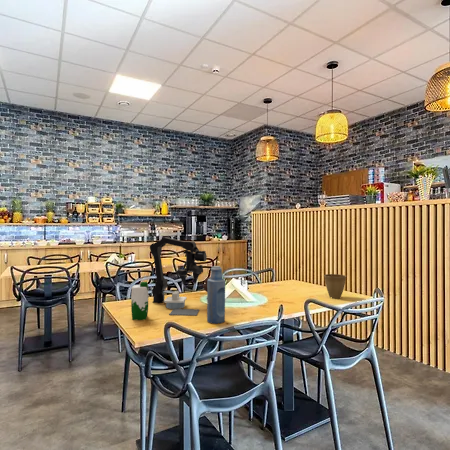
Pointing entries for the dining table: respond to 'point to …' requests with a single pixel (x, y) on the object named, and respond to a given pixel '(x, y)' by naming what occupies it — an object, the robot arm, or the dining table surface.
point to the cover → (175, 298)
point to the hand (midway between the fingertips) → (189, 284)
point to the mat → (185, 312)
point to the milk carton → (139, 301)
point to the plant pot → (335, 284)
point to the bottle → (216, 296)
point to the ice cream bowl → (205, 284)
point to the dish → (175, 305)
